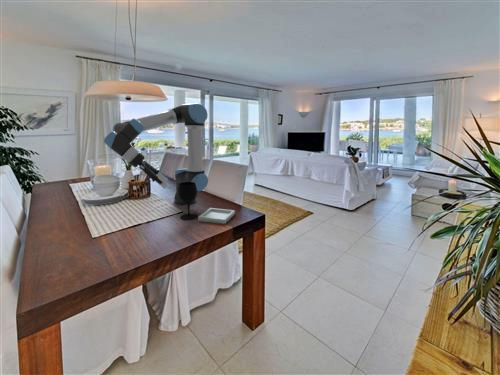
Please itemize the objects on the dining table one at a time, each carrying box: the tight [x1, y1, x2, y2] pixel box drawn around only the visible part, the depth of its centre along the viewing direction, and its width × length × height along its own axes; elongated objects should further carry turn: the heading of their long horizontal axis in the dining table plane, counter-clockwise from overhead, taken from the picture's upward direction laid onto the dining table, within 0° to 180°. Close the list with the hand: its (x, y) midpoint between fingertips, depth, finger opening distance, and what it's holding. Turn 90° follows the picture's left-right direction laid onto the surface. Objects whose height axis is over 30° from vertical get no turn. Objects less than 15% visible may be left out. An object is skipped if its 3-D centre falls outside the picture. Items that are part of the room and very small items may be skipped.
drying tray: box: [197, 207, 236, 225], centre depth 143 cm, size 16×16×2 cm
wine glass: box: [178, 182, 199, 221], centre depth 142 cm, size 10×10×20 cm
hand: (166, 184), depth 136 cm, fingers open, 13 cm apart
